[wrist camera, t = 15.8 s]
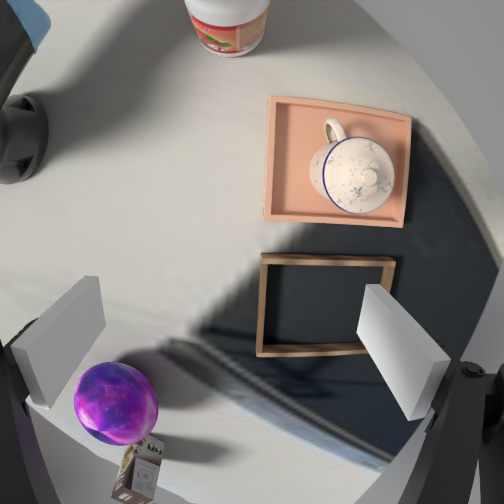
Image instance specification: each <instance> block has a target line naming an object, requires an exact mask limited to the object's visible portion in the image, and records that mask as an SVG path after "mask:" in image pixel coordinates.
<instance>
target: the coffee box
mask: <svg viewBox="0 0 504 504" xmlns="http://www.w3.org/2000/svg"><path fill="white" fill-rule="evenodd" d="M164 447H165V443H164V442H162V441H160V440H158V439H156V438H154V437H153V436H151V435H149V434H148V435H147V436H146V437H145V438H143V439H142V440H140V441H139V442H136V443H134V444H130V445H127V447H126V450H125V453H124V456H123V460H122V463H121V466H120V469H119V473H118V476H117V479H116V483H115V486H114V489H113V493H112V496H111V498H113V499H115V500H117V501H120V502H122V503H124V504H147V503H148V502H150V501H152V500H153V498H154V493H155V489H156V484H157V479H158V474H159V470H160V465H161V460H162V456H163V451H164Z"/></svg>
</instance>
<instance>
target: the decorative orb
mask: <svg viewBox="0 0 504 504" xmlns="http://www.w3.org/2000/svg"><path fill="white" fill-rule="evenodd" d="M74 406H75V411H76V414H77V417H78V419H79V421H80V422H81V424H82V425H83V427H84V428H85V429H86V430H87V431H88V432H89V433H90V434H91V435H92V436H93V437H95V438H96V439H98V440H100V441H102V442H104V443H107V444H111V445H117V446H124V445H130V444H134V443H136V442H139V441H140V440H142V439H143V438H145V437H146V436H147V435H148V434H149V433H150V432H151V430H152V429H153V427H154V426H155V423H156V421H157V417H158V400H157V396H156V393H155V390H154V388H153V387H152V385H151V383H150V382H149V381H148V379H147V378H146V377H145V376H144V375H143V374H142V373H140V372H139V371H138V370H136V369H135V368H133V367H131V366H128V365H126V364H122V363H117V362H106V363H101V364H98V365H95V366H93V367H92V368H90V369H89V370H87V371H86V372H85V373H84V374H83V375H82V376H81V378H80V379H79V381H78V383H77V385H76V388H75V392H74Z"/></svg>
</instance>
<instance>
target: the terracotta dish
mask: <svg viewBox="0 0 504 504" xmlns="http://www.w3.org/2000/svg"><path fill="white" fill-rule="evenodd" d="M331 117H334V118H336V119H338V121H339V122H340V123H341V125H342V127H343V129H344V131H345V133H346V136H347V138H350V137H365V138H368V139H371V140H373V141H375V142H376V143H378V144H379V145H380V146H382V147H383V148H384V150H385V151H386V152H387V153H388V155H389V157H390V159H391V161H392V163H393V167H394V174H395V179H394V186H393V189H392V192H391V194H390V196H389V198H388V199H387V200H386V202H385V203H384V204H383V205H382V206H381V207H379V208H378V209H376V210H374V211H372V212H369V213H366V214H352V213H348V212H346V211H343V210H342V209H340V208H339V207H337V206H336V205H335V204H334V203H333V202H331V201H329V200H327V199H325V198H323V197H322V196H321V195H320V194H319V193H318V192H317V191H316V190H315V188H314V187H313V185H312V182H311V179H310V173H309V170H310V163H311V160H312V158H313V156H314V154H315V153H316V151H317V150H318V149H319V148H321V147H322V146H323V145H325V144H327V143H328V140H327V138H326V134H325V130H324V123H325V121H326V119H328V118H331ZM335 136H336V135H335ZM410 143H411V117H410V116H406V115H402V114H397V113H392V112H388V111H383V110H377V109H372V108H367V107H361V106H355V105H349V104H342V103H335V102H328V101H320V100H311V99H302V98H291V97H279V96H270V97H269V99H268V119H267V142H266V164H265V186H264V207H263V218H264V220H268V221H293V222H315V223H334V224H352V225H369V226H385V227H399V228H403V221H404V213H405V205H406V196H407V186H408V174H409V161H410Z"/></svg>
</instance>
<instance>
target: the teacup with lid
mask: <svg viewBox="0 0 504 504" xmlns="http://www.w3.org/2000/svg"><path fill="white" fill-rule="evenodd" d="M324 130H325V134H326V138H327V140H328V143H327V144H325V145H323V146H322V147H321V148H319V149H318V150H317V151H316V153H315V154H314V156H313V158H312V160H311V163H310V170H309V173H310V179H311V182H312V185H313V187H314V188H315V190H316V191H317V192H318V193H319V194H320V195H321V196H322V197H323V198H325V199H327V200H329V201H331V202H333V203H334V204H335V205H336V206H337V207H339V208H340V209H342V210H343V211H346V212H348V213H352V214H366V213H369V212H372V211H374V210H376V209H378V208H379V207H381V206H382V205H383V204H384V203H385V202H386V200H387V199H388V198H389V196H390V194H391V192H392V189H393V186H394V179H395V174H394V167H393V163H392V161H391V159H390V157H389V155H388V153H387V152H386V151H385V150H384V148H383V147H382V146H380V145H379V144H378V143H376V142H375V141H373V140H371V139H368V138H365V137H350V138H347V136H346V133H345V131H344V129H343V127H342V125H341V123H340V122H339V121H338V119H336V118H334V117H331V118H328V119H326V121H325V123H324ZM335 135H336V136H335Z"/></svg>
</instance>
